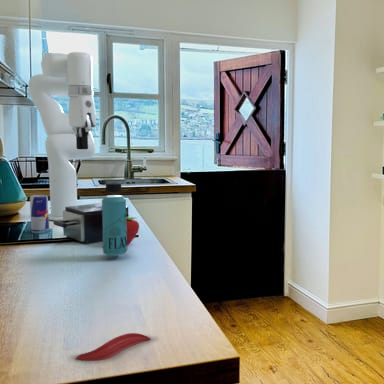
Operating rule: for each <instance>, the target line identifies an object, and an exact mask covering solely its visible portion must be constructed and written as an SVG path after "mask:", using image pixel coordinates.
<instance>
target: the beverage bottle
mask: <svg viewBox="0 0 384 384" xmlns="http://www.w3.org/2000/svg"><path fill="white" fill-rule="evenodd" d="M122 191H123V188H122V183H120V182H108V183H106V184H105V192H106V193H107V192H108V193H119V192H122ZM101 203H102V219H103V238H102V253H103V254H104V255H106V256H119V255H121V256H122V255H125V254H126V253H127V251H128V245H127V228H126V222H127V221H126V216H127V214H126V206H127V199H126V198H125V197H124V196H123V195H122V194H121V195H120V194H110V195H106V196H104V198H102V200H101Z"/></svg>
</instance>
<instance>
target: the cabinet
mask: <svg viewBox="0 0 384 384" xmlns="http://www.w3.org/2000/svg"><path fill="white" fill-rule="evenodd" d="M65 209H66V210H67V211H73V212H77V213H80V214H84V222H85V241H79V240H76V239H73V238H70V237H67V236H65V237H66V238H68V239H70V240H74V241H76V242H79V243H82V244H85V245H89V244H94V243H95V244H96V243H101V242H102V243H103V241H102V238H103V219H102V202H98V203H89V204H80V205H78V204H77V206H70V207H65ZM126 211H127V212H126V214H127V213H128V214H127V217H128V215H129V206H127V205H126Z"/></svg>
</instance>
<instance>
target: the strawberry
mask: <svg viewBox="0 0 384 384" xmlns="http://www.w3.org/2000/svg"><path fill="white" fill-rule="evenodd" d="M126 212H127V211H126ZM127 214H128V217H127V216H126V221H127V222H126V228H127V246H129V245H130V244H131V243H132V241H134V239H135V237H136V236H137V235H138V233H139V229H140V223H139V221H137V220H135V219H136V217H132V216H131V217H130V215H129V212H128V213H127Z"/></svg>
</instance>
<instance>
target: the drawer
mask: <svg viewBox="0 0 384 384" xmlns="http://www.w3.org/2000/svg"><path fill="white" fill-rule="evenodd" d="M52 223H53V225H54V226H57V227H60V228H62V230H63V233H62V234H63V236H65V237H66V236H67V237H66V238H68V237H70V238H73V239H76V240H79V241H85V222H84V214H80V213H77V212H73V211H67V210H63V221H57V220H53V222H52ZM70 238H69V239H70ZM73 239H72V240H73ZM76 240H75V241H76ZM79 241H78V242H79Z"/></svg>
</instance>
